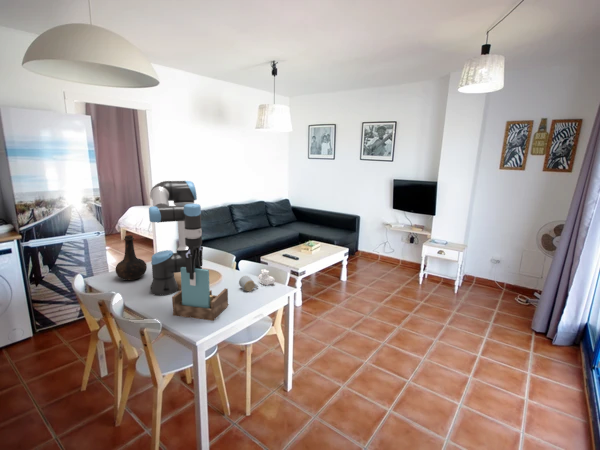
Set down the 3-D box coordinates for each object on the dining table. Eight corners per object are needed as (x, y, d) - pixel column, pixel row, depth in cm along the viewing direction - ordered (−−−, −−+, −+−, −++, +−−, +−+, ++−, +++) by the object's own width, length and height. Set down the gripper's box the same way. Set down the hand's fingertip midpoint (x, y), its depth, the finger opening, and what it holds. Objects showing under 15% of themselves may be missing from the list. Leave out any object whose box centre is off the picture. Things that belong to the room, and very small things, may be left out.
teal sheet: (182, 313, 157) (180, 268, 152) (184, 312, 158) (182, 267, 153) (208, 317, 154) (207, 270, 149) (210, 315, 156) (209, 269, 151)
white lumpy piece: (258, 285, 204) (251, 275, 196) (263, 275, 208) (257, 265, 200) (273, 289, 198) (267, 279, 190) (278, 279, 202) (273, 269, 195)
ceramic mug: (244, 293, 186) (244, 281, 184) (238, 288, 192) (238, 276, 191) (260, 289, 192) (260, 277, 191) (254, 285, 199) (254, 273, 197)
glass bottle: (127, 285, 191) (123, 241, 185) (110, 279, 200) (106, 236, 194) (153, 276, 206) (150, 235, 200) (136, 271, 215) (133, 231, 209)
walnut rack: (172, 318, 155) (171, 297, 153) (191, 302, 172) (190, 283, 170) (214, 323, 151) (213, 302, 149) (229, 306, 169) (228, 287, 166)
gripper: (191, 241, 139) (193, 291, 144) (209, 233, 155) (210, 278, 160) (176, 240, 141) (178, 289, 145) (195, 232, 157) (196, 276, 161)
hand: (195, 283), depth 153 cm, fingers open, 3 cm apart
